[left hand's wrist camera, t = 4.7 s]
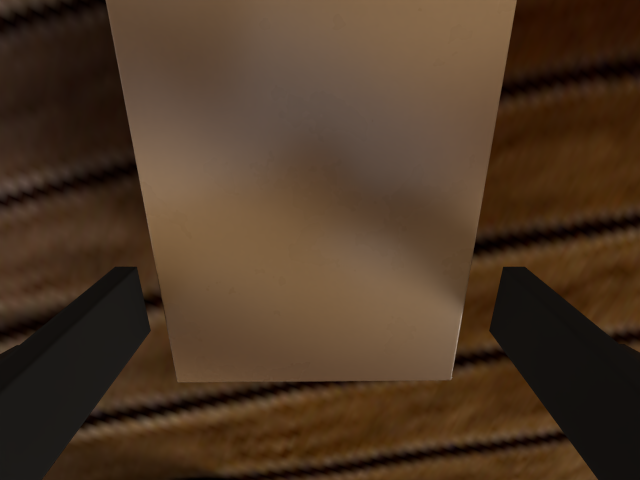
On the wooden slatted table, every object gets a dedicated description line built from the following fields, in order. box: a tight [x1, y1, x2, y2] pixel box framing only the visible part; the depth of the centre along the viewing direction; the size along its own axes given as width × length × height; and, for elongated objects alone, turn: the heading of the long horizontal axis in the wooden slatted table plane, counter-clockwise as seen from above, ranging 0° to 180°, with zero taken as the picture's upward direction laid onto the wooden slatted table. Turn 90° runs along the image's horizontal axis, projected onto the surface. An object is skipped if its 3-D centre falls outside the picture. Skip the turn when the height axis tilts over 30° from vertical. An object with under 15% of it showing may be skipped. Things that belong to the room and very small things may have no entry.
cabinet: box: [106, 0, 517, 382], centre depth 14 cm, size 20×11×9 cm, turn 0°
